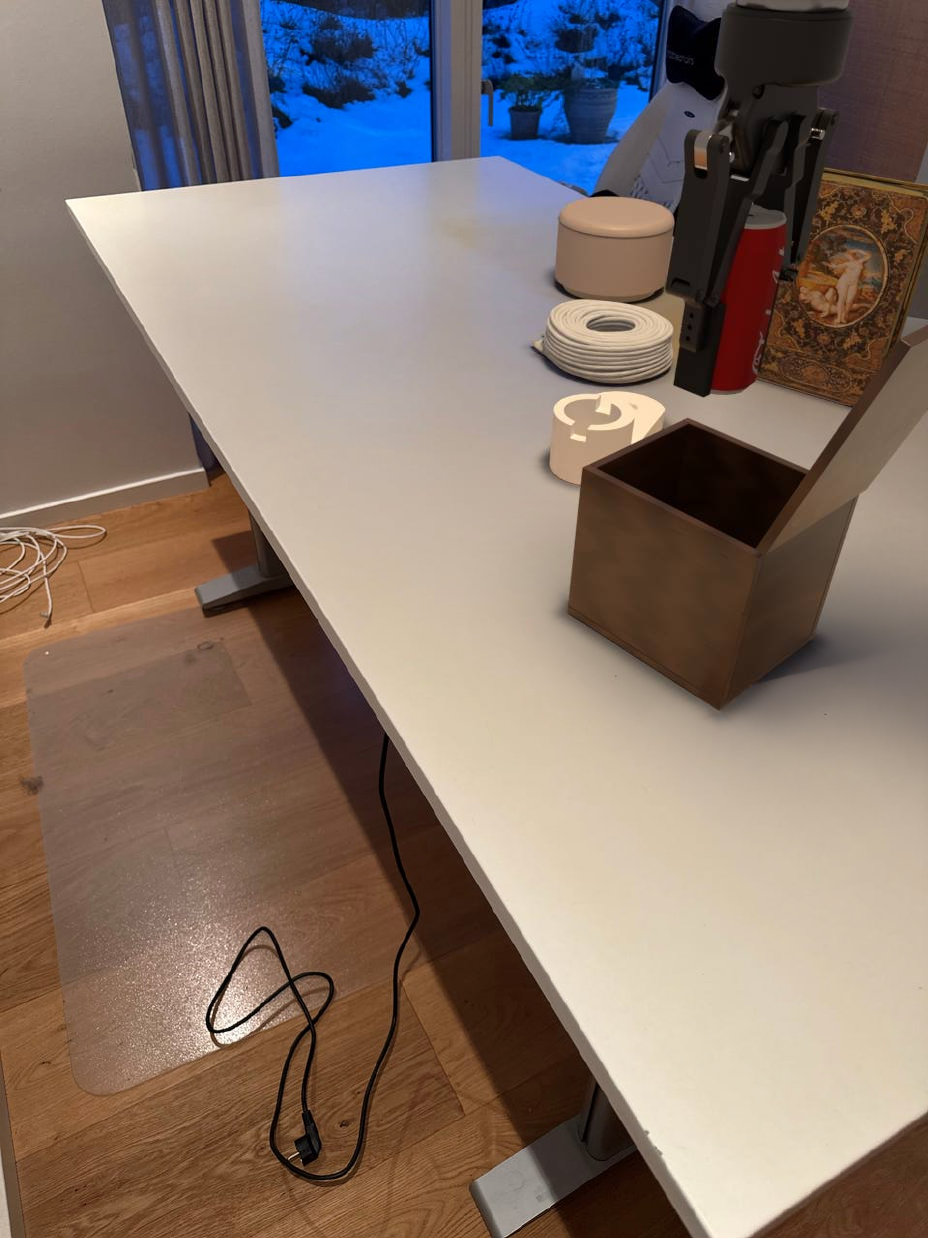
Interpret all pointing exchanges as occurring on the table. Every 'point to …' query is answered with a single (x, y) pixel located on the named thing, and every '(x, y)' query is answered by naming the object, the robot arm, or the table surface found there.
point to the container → (613, 248)
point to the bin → (699, 558)
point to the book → (849, 287)
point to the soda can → (749, 300)
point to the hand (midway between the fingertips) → (717, 377)
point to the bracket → (599, 428)
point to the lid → (860, 440)
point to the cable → (607, 341)
